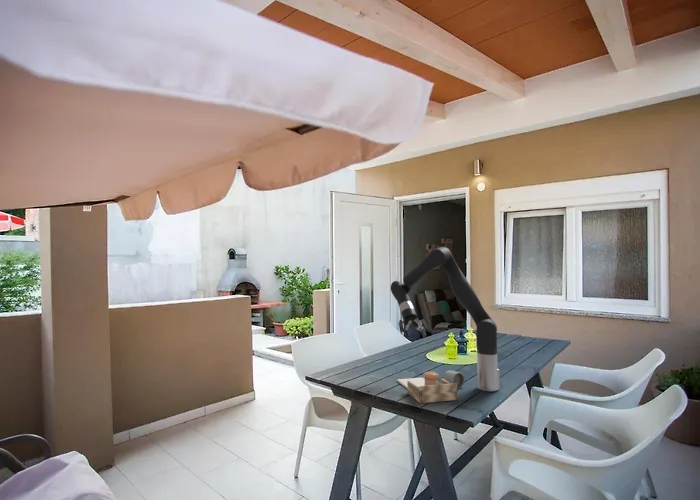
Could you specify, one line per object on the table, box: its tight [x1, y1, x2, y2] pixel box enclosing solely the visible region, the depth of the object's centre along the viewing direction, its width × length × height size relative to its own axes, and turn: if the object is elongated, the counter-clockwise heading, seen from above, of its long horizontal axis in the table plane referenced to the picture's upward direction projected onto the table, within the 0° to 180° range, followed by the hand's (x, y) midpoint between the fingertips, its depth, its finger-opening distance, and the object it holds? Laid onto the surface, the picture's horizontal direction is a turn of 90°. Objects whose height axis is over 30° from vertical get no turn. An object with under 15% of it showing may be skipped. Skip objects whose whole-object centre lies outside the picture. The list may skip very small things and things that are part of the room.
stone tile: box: [397, 376, 425, 390], centre depth 197 cm, size 14×14×1 cm
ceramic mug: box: [442, 370, 465, 390], centre depth 193 cm, size 11×8×8 cm
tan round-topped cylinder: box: [423, 371, 440, 386], centre depth 180 cm, size 7×7×10 cm
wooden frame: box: [406, 377, 458, 404], centre depth 180 cm, size 18×14×7 cm
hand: (416, 337), depth 196 cm, fingers open, 8 cm apart
